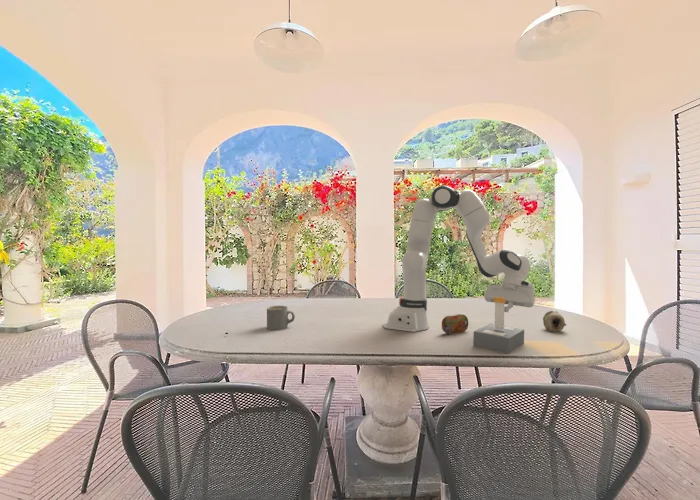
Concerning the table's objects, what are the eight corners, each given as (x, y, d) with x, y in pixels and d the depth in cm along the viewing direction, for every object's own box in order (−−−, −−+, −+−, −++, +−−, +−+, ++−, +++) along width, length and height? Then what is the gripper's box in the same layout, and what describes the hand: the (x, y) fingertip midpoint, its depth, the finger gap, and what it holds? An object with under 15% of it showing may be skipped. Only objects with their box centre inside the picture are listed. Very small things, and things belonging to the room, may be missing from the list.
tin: (445, 335, 155) (445, 317, 155) (440, 333, 158) (440, 315, 157) (468, 331, 162) (469, 313, 162) (463, 329, 165) (464, 312, 164)
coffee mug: (264, 330, 163) (264, 309, 163) (270, 324, 173) (269, 305, 172) (292, 330, 162) (292, 309, 162) (296, 325, 172) (296, 305, 172)
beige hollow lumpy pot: (543, 333, 166) (536, 313, 168) (556, 329, 169) (549, 310, 171) (559, 333, 157) (551, 312, 159) (572, 328, 160) (564, 307, 162)
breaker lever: (495, 326, 144) (496, 296, 144) (505, 328, 141) (505, 297, 141) (493, 328, 142) (493, 297, 142) (503, 329, 140) (503, 298, 139)
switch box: (490, 336, 153) (491, 323, 153) (523, 343, 144) (524, 329, 143) (473, 345, 141) (473, 331, 140) (508, 353, 131) (508, 338, 131)
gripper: (487, 279, 157) (477, 303, 151) (535, 283, 143) (527, 310, 137) (491, 287, 161) (482, 311, 154) (538, 293, 147) (530, 319, 140)
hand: (503, 311), depth 145 cm, fingers closed
